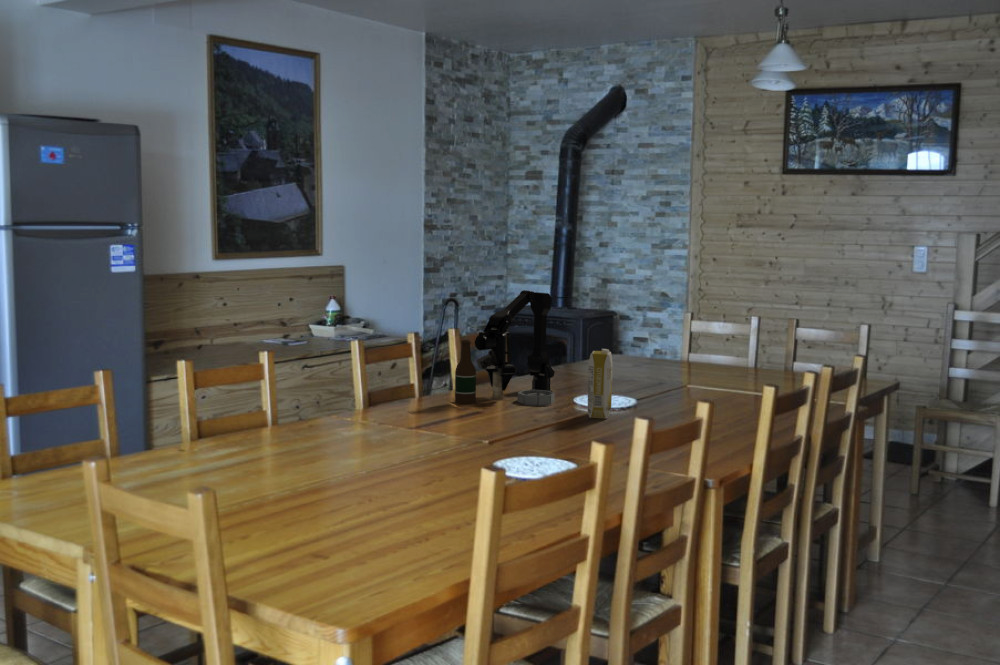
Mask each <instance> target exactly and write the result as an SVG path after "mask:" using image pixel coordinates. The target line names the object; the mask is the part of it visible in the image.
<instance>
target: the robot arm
mask: <svg viewBox="0 0 1000 665" xmlns="http://www.w3.org/2000/svg"><path fill="white" fill-rule="evenodd" d="M552 298H553V297H552V295H551V294H550V293H548V292H537V291H532V290H528V289H527V290H525V289H523V290H521V291H520V293H519V294H518V295H517V296H516V297H515V298H513V300H512V301H511V302H510V303H508V304H507V306H506V307H505V308H503V309H502V310H500V311H497V312H495V313H493V314H491V315H490V316H489V318H488V320H487V323H486V325H485V326H484V329H483V331H479V332H478V335H477V336H476V338H475V339H474V346H475V348H476V350H478V351H487V350H488V353H487V354H486V355H483V356H481V357H480V358H477V359H476V363H477V367H478V369H482V370H483V371H485V372H486V374H487V376H488V380H489V383H490V386H491V388H493V372H498V373H497V374H498V375H499V376H500V377H501V387H502V391H503V392H505V391H506V390H507V387H508V386H509V383H510V382H511V380H512V379H513V376H514V375H515V374H516V373H517V367H516V365H514V364H509V361H507V355H508V354H509V351H508V350H507V337H509V336H510V337H511V333H510V332H509V331H508V329H509V328H510V327H511V325H512V324H513V320H514V318H515V317H516V316H517V315H519V313H520V312H522V310H523V309H524V308H525V307H527V305H528V304H529V303H530V310H531V311H532V313H533V342H532V345H533V346H532V352H531V353H530V354H528V355H527V363H526V366H527V368H528V371H529V376H531V377H532V378H533V379H532V380H531V389H530V390H547V391H551V392H553V390H551V378H554V377H555V371H554V369H553V368H552V366H551V364H550V357H549V356H548V353H547V352H546V351H547V350H546V346H547V345H546V344H547V322H548V321H547V318H548V314H549V312H550V311H551V310H552V302H553V299H552Z"/></svg>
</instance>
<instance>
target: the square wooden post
mask: <svg viewBox="0 0 1000 665" xmlns="http://www.w3.org/2000/svg"><path fill="white" fill-rule="evenodd" d="M497 373H498V372H493V387H492V396H493V398H494V399H503V396H504V391H502V387H501V377H500V376H499V375H498V374H497Z"/></svg>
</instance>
